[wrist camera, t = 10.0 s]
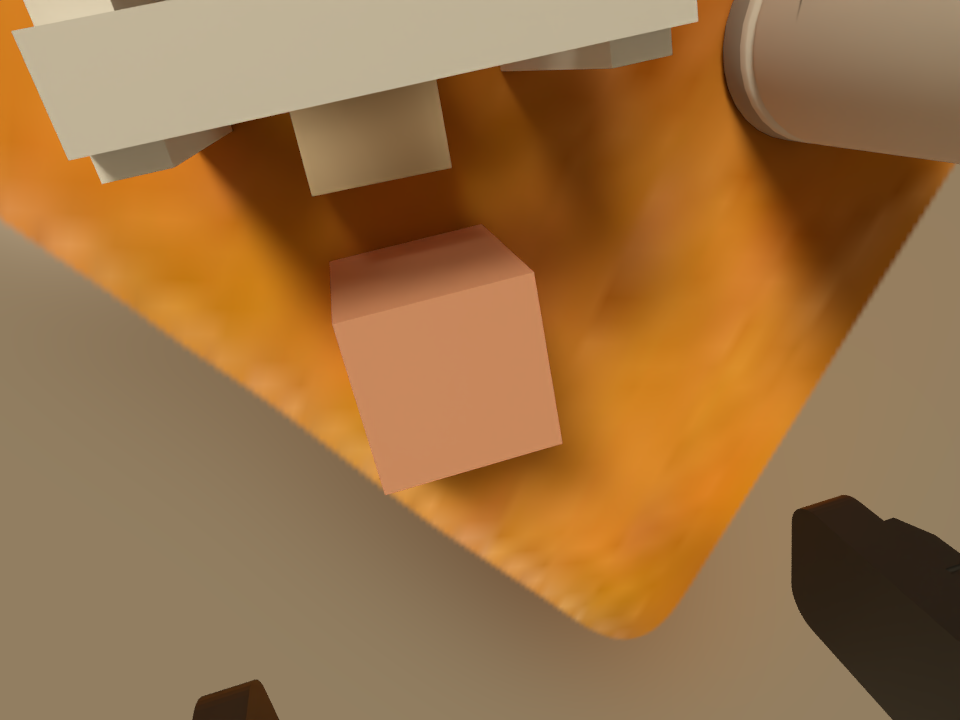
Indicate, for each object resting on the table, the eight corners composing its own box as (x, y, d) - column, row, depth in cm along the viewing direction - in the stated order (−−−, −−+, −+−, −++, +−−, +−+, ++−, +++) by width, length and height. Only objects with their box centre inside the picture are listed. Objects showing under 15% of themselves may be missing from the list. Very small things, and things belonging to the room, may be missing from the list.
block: (481, 223, 22) (534, 272, 16) (507, 360, 24) (562, 443, 18) (329, 261, 21) (331, 324, 16) (370, 398, 23) (385, 495, 18)
